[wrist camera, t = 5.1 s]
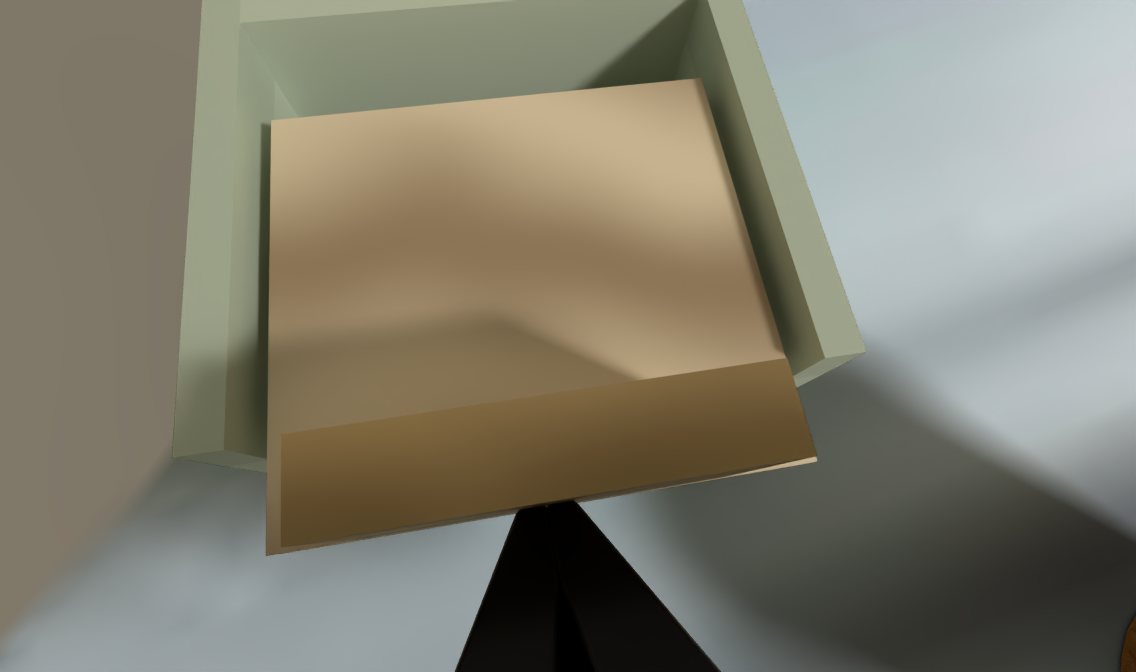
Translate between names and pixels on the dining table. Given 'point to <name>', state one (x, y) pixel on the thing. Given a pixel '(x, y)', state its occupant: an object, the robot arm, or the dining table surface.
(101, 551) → the dining table surface
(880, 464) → the dining table surface
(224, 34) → the box
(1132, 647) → the disposable coffee cup
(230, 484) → the dining table surface
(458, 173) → the lid
